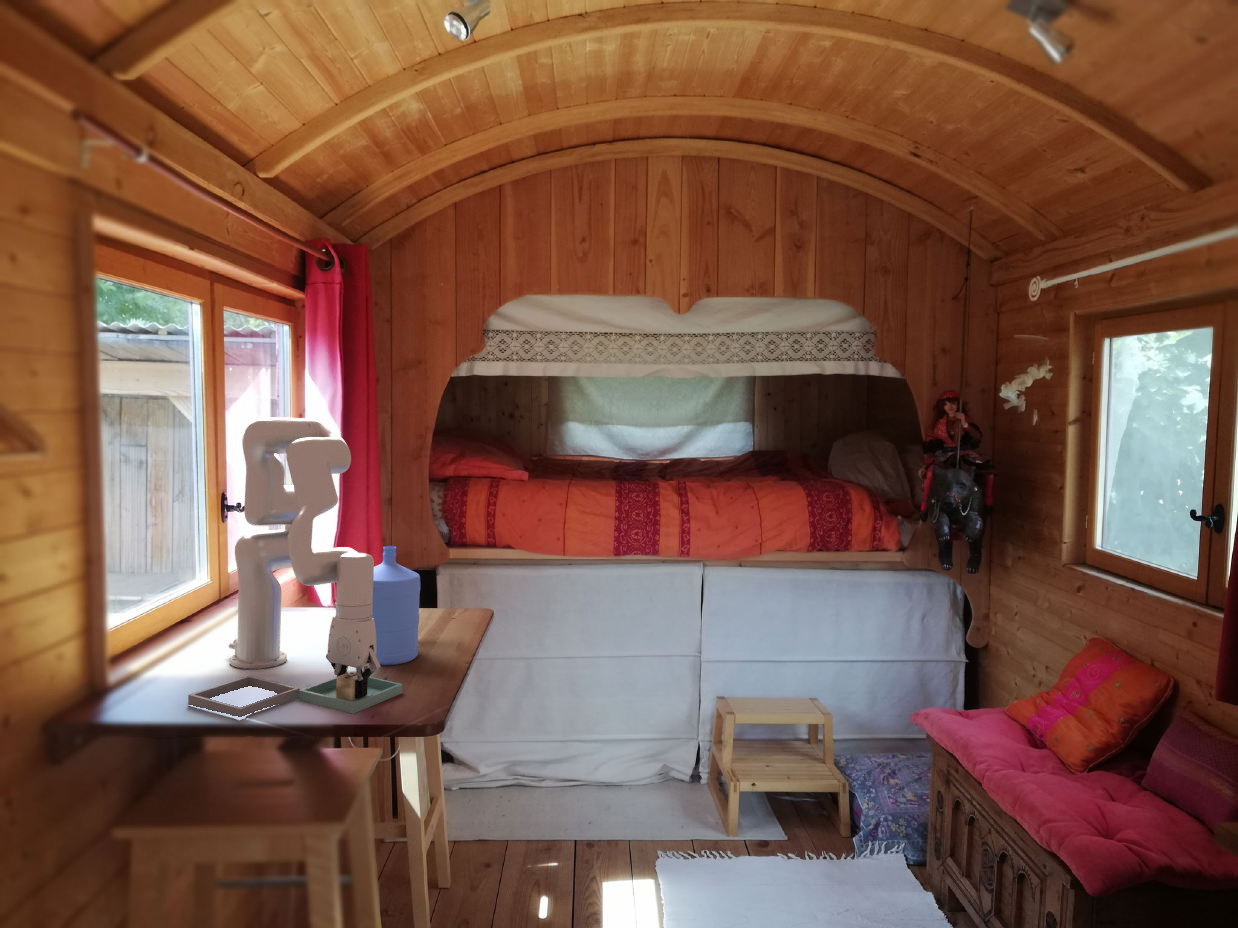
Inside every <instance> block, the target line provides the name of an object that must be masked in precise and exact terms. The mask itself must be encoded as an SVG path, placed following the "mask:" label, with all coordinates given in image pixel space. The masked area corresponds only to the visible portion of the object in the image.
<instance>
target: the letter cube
mask: <svg viewBox="0 0 1238 928" xmlns="http://www.w3.org/2000/svg"><path fill="white" fill-rule="evenodd" d="M347 672H348V673H345V674H343V675H340V676H337V675H336V677H337V683H336V697H337V698H341V699H345V700H349V701H354V700H356V698H355V680H358V679H357V672H356V671H352V670H351V671H347ZM363 697H364V696H363ZM358 699H359V698H358Z"/></svg>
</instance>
